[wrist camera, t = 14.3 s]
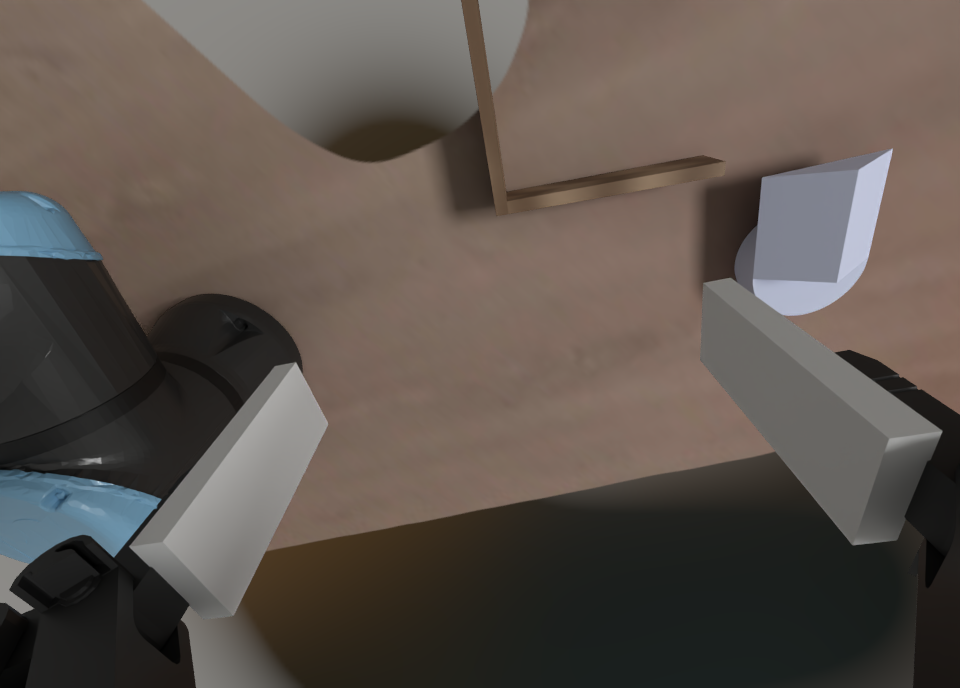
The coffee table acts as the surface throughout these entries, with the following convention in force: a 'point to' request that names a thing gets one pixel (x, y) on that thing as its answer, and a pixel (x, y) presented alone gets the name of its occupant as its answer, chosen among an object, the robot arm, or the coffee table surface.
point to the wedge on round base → (813, 233)
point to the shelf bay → (572, 188)
